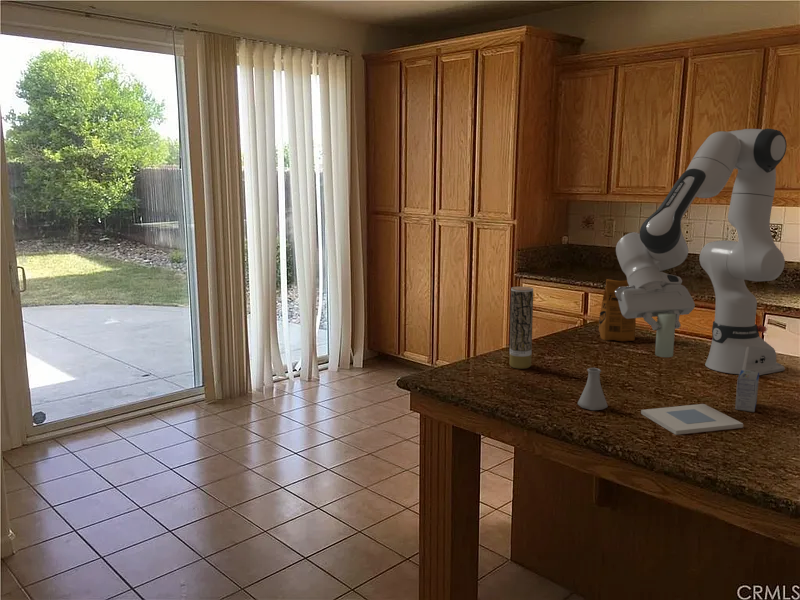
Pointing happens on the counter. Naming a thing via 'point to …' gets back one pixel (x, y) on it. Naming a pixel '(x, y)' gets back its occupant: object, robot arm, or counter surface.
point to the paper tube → (521, 327)
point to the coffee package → (615, 316)
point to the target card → (691, 419)
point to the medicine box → (747, 390)
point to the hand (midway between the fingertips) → (667, 328)
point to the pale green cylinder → (665, 335)
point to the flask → (593, 392)
